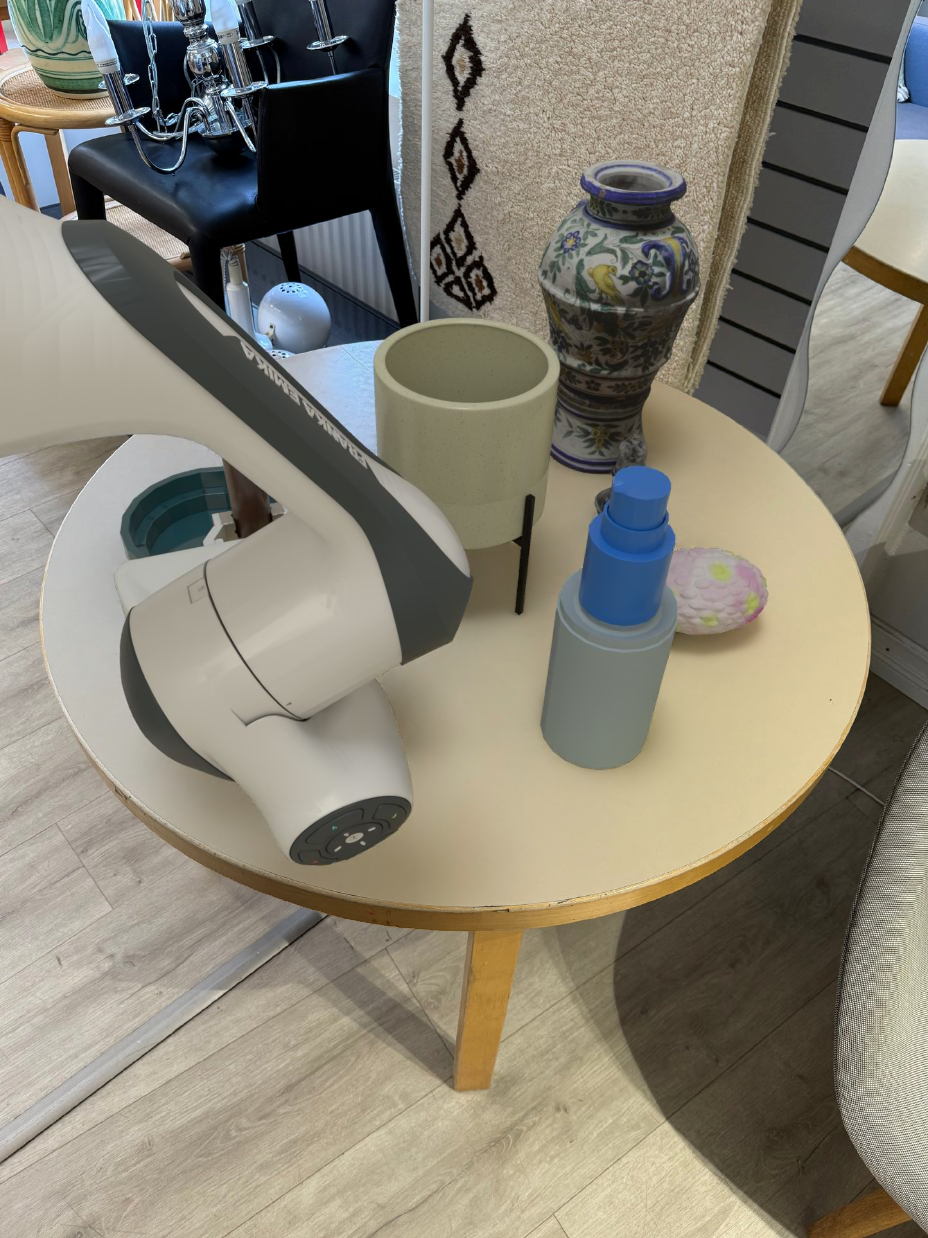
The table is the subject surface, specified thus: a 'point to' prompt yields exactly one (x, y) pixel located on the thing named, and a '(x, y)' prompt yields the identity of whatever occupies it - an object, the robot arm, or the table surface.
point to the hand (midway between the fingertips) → (250, 514)
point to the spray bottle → (613, 628)
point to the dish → (175, 513)
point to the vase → (614, 304)
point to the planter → (471, 425)
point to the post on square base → (246, 502)
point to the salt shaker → (624, 465)
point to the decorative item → (715, 590)
